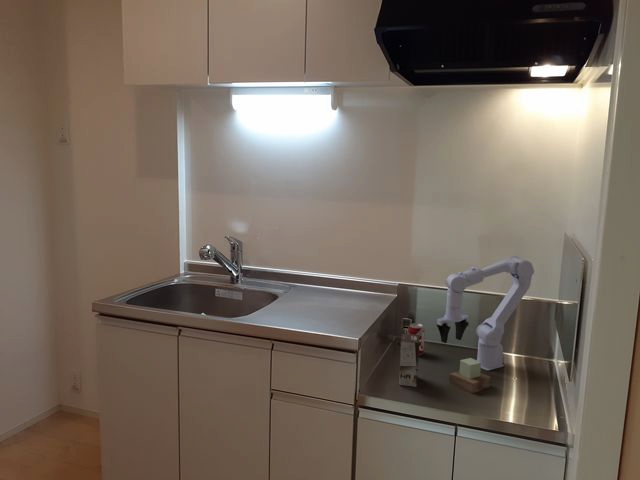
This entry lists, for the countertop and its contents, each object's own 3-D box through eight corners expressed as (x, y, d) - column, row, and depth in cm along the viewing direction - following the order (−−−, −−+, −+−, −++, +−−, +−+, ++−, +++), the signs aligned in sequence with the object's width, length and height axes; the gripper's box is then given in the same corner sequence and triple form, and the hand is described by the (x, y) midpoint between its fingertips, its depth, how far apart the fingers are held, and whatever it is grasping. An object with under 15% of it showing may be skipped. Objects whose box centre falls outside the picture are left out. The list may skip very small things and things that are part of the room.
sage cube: (469, 371, 190) (470, 357, 189) (480, 376, 185) (481, 362, 185) (459, 373, 187) (460, 360, 187) (469, 378, 183) (470, 365, 182)
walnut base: (467, 377, 194) (467, 367, 193) (490, 387, 186) (491, 377, 185) (449, 384, 188) (449, 373, 187) (472, 394, 180) (473, 383, 179)
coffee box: (417, 387, 184) (419, 342, 181) (398, 385, 185) (400, 341, 183) (417, 376, 193) (419, 334, 190) (399, 374, 194) (401, 332, 191)
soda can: (406, 356, 212) (408, 327, 211) (406, 350, 219) (408, 322, 217) (423, 357, 211) (425, 328, 209) (423, 351, 218) (424, 323, 216)
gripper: (459, 301, 206) (457, 334, 208) (432, 305, 198) (429, 340, 200) (473, 306, 200) (470, 340, 202) (445, 310, 192) (443, 346, 194)
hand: (451, 340), depth 201 cm, fingers open, 7 cm apart
